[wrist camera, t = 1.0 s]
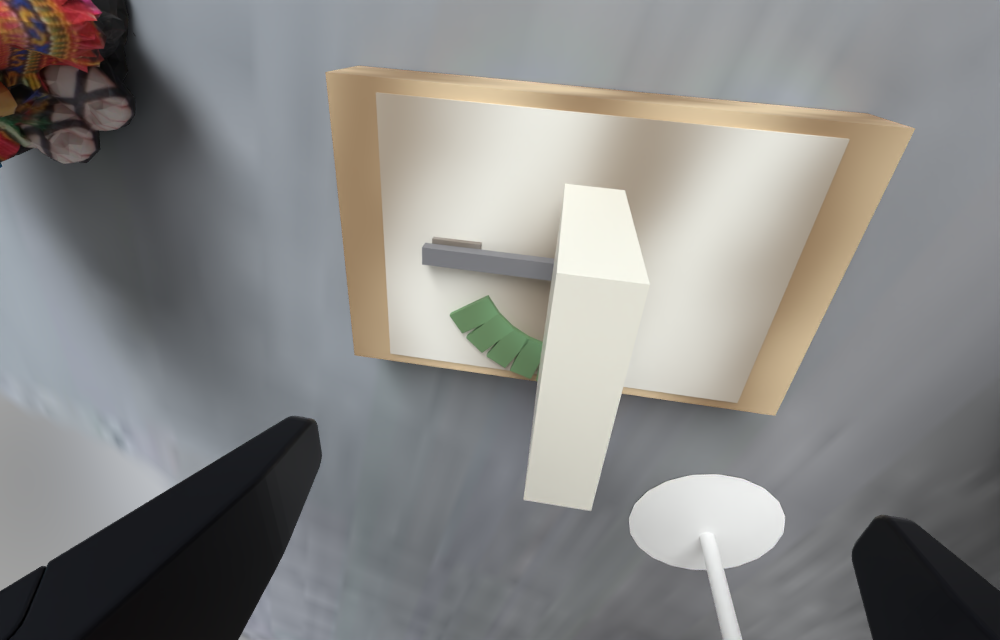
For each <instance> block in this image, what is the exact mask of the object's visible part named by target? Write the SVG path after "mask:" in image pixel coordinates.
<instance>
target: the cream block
mask: <svg viewBox="0 0 1000 640" xmlns="http://www.w3.org/2000/svg"><path fill="white" fill-rule="evenodd" d="M422 265H430V266H438V267H446V268H453V269H461V270H469V271H477V272H485V273H493V274H501V275H509V276H516V277H524V278H532V279H540V280H548V281H551V287H550V294H549V301H548V309H547V316H546V323H545V330H544V337H543V344H542V351H541V358H540V366H539V374H538V383H537V391H536V399H535V408H534V416H533V424H532V433H531V441H530V450H529V458H528V466H527V475H526V483H525V491H524V500H527V501H533V502H539V503H545V504H551V505H558V506H564V507H570V508H576V509H582V510H588V511H591V509H592V505H593V501H594V498H595V494H596V490H597V486H598V482H599V478H600V475H601V471H602V467H603V463H604V459H605V455H606V451H607V448H608V444H609V440H610V436H611V432H612V428H613V425H614V421H615V417H616V413H617V409H618V405H619V402H620V398H621V394H622V390H623V386H624V382H625V378H626V375H627V371H628V367H629V363H630V359H631V355H632V352H633V348H634V344H635V340H636V336H637V332H638V329H639V325H640V321H641V317H642V313H643V309H644V305H645V302H646V298H647V294H648V290H649V286H650V283H649V279H648V275H647V272H646V268H645V264H644V260H643V257H642V253H641V249H640V245H639V242H638V238H637V234H636V230H635V227H634V223H633V219H632V215H631V212H630V208H629V204H628V200H627V196H626V193H625V190H618V189H609V188H600V187H591V186H582V185H573V184H565V188H564V195H563V202H562V209H561V216H560V224H559V231H558V238H557V245H556V252H555V259H554V258H546V257H538V256H530V255H522V254H514V253H505V252H497V251H489V250H481V249H473V248H465V247H457V246H448V245H440V244H432V243H425V244H424V245H423V247H422Z"/></svg>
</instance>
